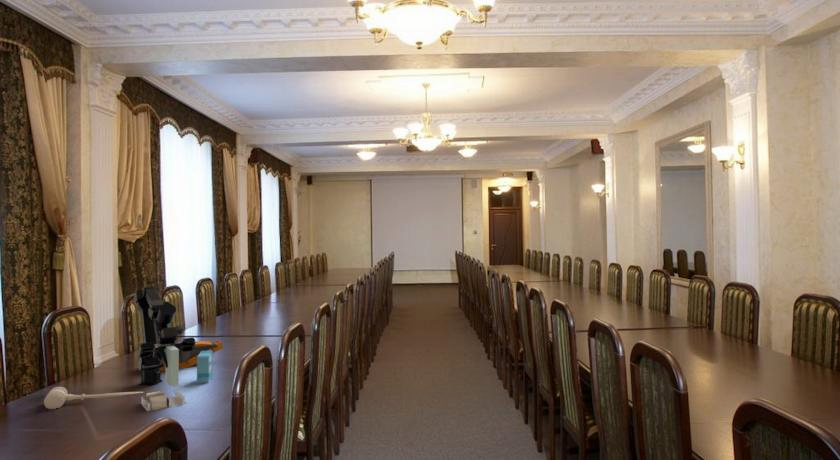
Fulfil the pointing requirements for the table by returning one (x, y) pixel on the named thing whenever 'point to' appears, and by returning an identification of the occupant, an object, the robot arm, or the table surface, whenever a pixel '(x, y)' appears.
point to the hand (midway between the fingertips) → (171, 366)
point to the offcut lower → (158, 405)
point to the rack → (175, 401)
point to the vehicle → (195, 353)
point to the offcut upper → (156, 397)
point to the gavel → (73, 397)
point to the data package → (204, 367)
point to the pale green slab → (172, 366)
